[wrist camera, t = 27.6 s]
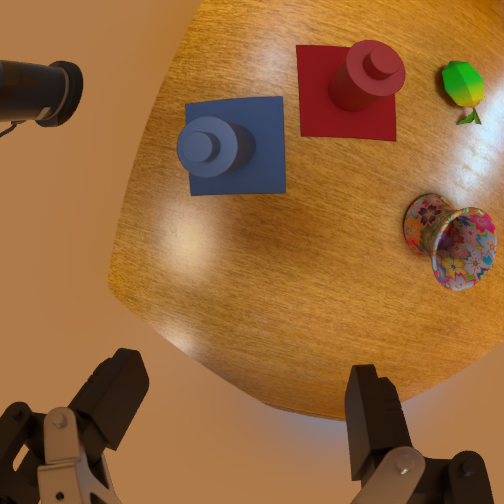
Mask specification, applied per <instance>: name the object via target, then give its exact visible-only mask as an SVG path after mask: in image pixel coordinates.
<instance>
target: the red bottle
mask: <svg viewBox="0 0 504 504" xmlns="http://www.w3.org/2000/svg"><path fill="white" fill-rule="evenodd" d="M404 81H405V68H404V65H403V62H402V60H401V58H400V57H399V55H398V54H397V53H396V52H395V51H394V50H393V49H392V48H391V47H389V46H388V45H386V44H384V43H382V42H379V41H374V40H364V41H360V42H357V43H356V44H354V45H353V46H352V47H351V48H350V49H349V51H348V53H347V54H346V56H345V57H344V59H343V61H342V62H341V64H340V65H339V67H338V69H337V70H336V72H335V73H334V75H333V77H332V78H331V80H330V82H329V85H328V94H329V97H330V99H331V100H332V102H333V103H334V104H335V105H336V106H337V107H338V108H340V109H342V110H345V111H349V112H355V111H359V110H361V109H363V108H365V107H367V106H369V105H371V104H373V103H375V102H378V101H380V100H382V99H384V98H386V97H388V96H390V95H393V94H395V93H396V92H398V91H399V90H400V89H401V87H402V86H403V84H404Z"/></svg>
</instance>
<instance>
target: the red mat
mask: <svg viewBox="0 0 504 504" xmlns="http://www.w3.org/2000/svg"><path fill="white" fill-rule="evenodd" d="M350 48H351V47H339V46H322V45H296V52H297V66H298V82H299V101H300V125H301V136H314V137H343V138H360V139H374V140H385V141H396V111H395V94H393V95H390V96H388V97H386V98H384V99H382V100H380V101H378V102H375V103H373V104H371V105H369V106H367V107H365V108H363V109H361V110H359V111H355V112H349V111H345V110H342V109H340V108H338V107H337V106H336V105H335V104H334V103H333V102H332V100H331V99H330V97H329V94H328V85H329V82H330V80H331V78H332V77H333V75H334V73H335V72H336V70H337V69H338V67H339V65H340V64H341V62H342V61H343V59H344V57H345V56H346V54H347V53H348V51H349V49H350Z"/></svg>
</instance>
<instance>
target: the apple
mask: <svg viewBox="0 0 504 504" xmlns="http://www.w3.org/2000/svg"><path fill="white" fill-rule="evenodd" d="M442 77H443V83H444V90H445V91H446V93H447V94H448V95H449V96H450V97H451V98H452V99H453V100H454V102H455V103H456V104H457V105H459V106H465V107H470V108H473V112H472V113H471V114H470V115H468V116H467V117H466V118H465V119H463V120H462V121H460V122H459V123H458V124H464V123H470V122H472V121H473V120H474V119H475V123H476V124H481V122H480V119H479V117H478V115H477V112H476V110H475V107H476V106H477V105H478V104H479V102H480V101H481V100H482V99H483V98H484V97H485V96H484V87H483V79H482V77H481V76H480V75H479V74H478V73H477V71H476V70H475V69H474V68H473V67H472V66H471V65H470V64H469V63H468V62H460V61H450V62H449V64H448V65H447V66H446V67H445V68H444V70H443V71H442ZM458 124H456V125H458ZM481 125H482V124H481Z"/></svg>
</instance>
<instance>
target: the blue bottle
mask: <svg viewBox="0 0 504 504" xmlns="http://www.w3.org/2000/svg"><path fill="white" fill-rule="evenodd" d="M255 148H256V144H255V139H254V137H253V135H252V134H251V132H250V131H249V130H247V129H246V128H244V127H242V126H239V125H237V124H234V123H231V122H229V121H226V120H223V119H221V118H218V117H214V116H203V117H199V118H196V119H194V120H192V121H191V122H189V123H188V124H187V125H186V126H185V127H184V129H183V130H182V132H181V133H180V136H179V138H178V142H177V153H178V157H179V160H180V162H181V164H182V165H183V167H184V168H185V169H186V170H187V171H188V172H190V173H191V174H193V175H195V176H198V177H202V178H212V177H216V176H219V175H221V174H223V173H226V172H228V171H230V170H233V169H235V168H237V167H240V166H242V165H244V164H246V163H247V162H249V161H250V160H251V158H252V157H253V155H254V153H255Z"/></svg>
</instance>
